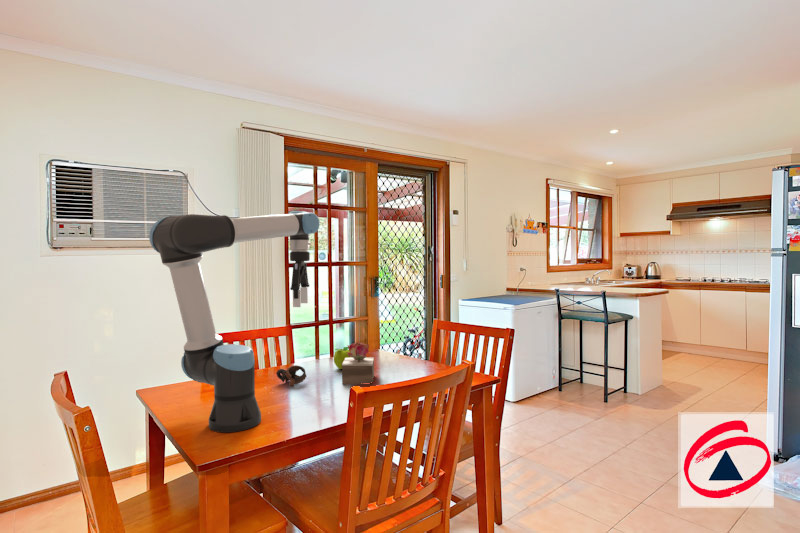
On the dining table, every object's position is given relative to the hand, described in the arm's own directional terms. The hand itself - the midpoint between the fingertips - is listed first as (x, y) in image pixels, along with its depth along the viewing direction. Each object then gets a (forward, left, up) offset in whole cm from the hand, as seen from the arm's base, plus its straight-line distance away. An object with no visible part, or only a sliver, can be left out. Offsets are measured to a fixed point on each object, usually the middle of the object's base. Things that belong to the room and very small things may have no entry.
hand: (300, 305), depth 178 cm
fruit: (+24, -14, -32) cm, 42 cm away
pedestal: (+6, -22, -32) cm, 39 cm away
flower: (+6, -22, -24) cm, 33 cm away
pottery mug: (+2, +4, -32) cm, 32 cm away
